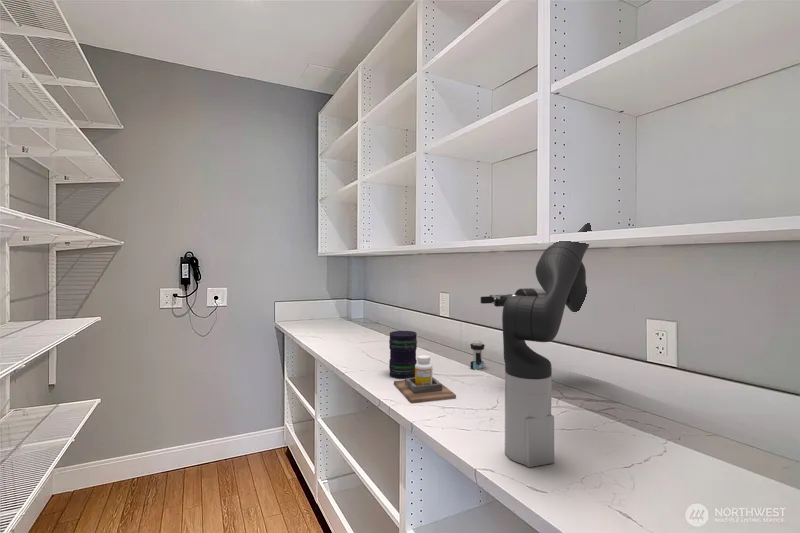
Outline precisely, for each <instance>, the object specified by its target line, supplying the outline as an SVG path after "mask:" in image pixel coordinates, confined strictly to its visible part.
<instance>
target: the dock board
mask: <svg viewBox="0 0 800 533" xmlns="http://www.w3.org/2000/svg"><path fill="white" fill-rule="evenodd" d="M393 385H394V386H395V387H396V388H397V390H398V391H399V392H400V393H401V394H402V395H403V396H404V397H405V399H407V400H408V402H409V403H410V404H417V403H426V402H435V401H443V400H452V399H457V395H456V393H454V392H453V391H452V390H450V389H449V388H448V387H447V386H445V385H444V384H443V383H441V382H440V381H439V380H437V378H435V377H433V376H432V384H429V385H419V386H416V385H415V377H414V378H405V379H400V380H393Z"/></svg>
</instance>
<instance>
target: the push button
mask: <svg viewBox="0 0 800 533" xmlns="http://www.w3.org/2000/svg"><path fill="white" fill-rule="evenodd" d="M485 347H486V344H484V343H483V341H481V340H480V341H479V340H475V341H472V343H470V350H472V361H470V369H471V370H475V369H477V370H481V368H482V369H484V368H485V367H486V365H484V364H487V363H486V362H484V360H483V358H482V356H483V355H482V354H483V350H485Z"/></svg>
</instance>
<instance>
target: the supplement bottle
mask: <svg viewBox="0 0 800 533" xmlns="http://www.w3.org/2000/svg"><path fill="white" fill-rule="evenodd" d="M416 360H417V363H416V365H415V377H414V378H415V385H416V386H419V385H429V384H432V377H433V364H432V363H431V356H430V355H428V354H427V355H425V354H423V355H417V356H416Z"/></svg>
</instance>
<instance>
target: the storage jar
mask: <svg viewBox="0 0 800 533" xmlns="http://www.w3.org/2000/svg"><path fill="white" fill-rule="evenodd" d="M417 335H418V334H417V332H416V331H412V330H395V331H391V332H389V341H388V343H389V350H390V352H389V354H390V355H389V361H388V362H389V364H388V366H389V377H390V378H392V379H397V380H405V378H415V365H416V363H418V361H417V349H418V340H417Z"/></svg>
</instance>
